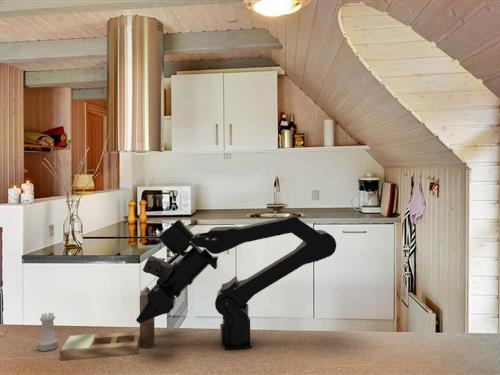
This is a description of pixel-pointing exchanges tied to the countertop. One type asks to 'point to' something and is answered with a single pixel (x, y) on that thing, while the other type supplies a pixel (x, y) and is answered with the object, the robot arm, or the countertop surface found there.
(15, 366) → the countertop surface
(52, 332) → the rook chess piece
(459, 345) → the countertop surface
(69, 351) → the board
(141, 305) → the pepper mill
